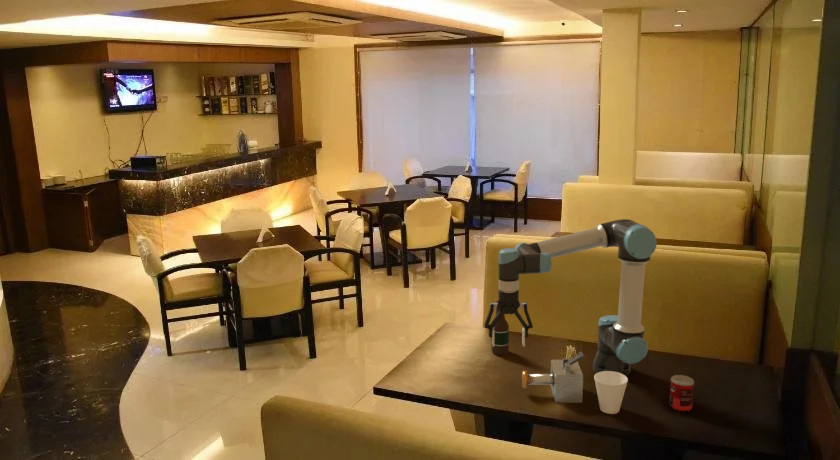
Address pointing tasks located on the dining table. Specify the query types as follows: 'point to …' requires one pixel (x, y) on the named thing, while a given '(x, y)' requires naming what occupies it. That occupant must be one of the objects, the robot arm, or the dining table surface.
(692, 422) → the dining table surface
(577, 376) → the hitch block
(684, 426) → the dining table surface
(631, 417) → the dining table surface
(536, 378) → the pin
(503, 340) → the beer bottle
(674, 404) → the canned food
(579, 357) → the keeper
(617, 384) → the cup
